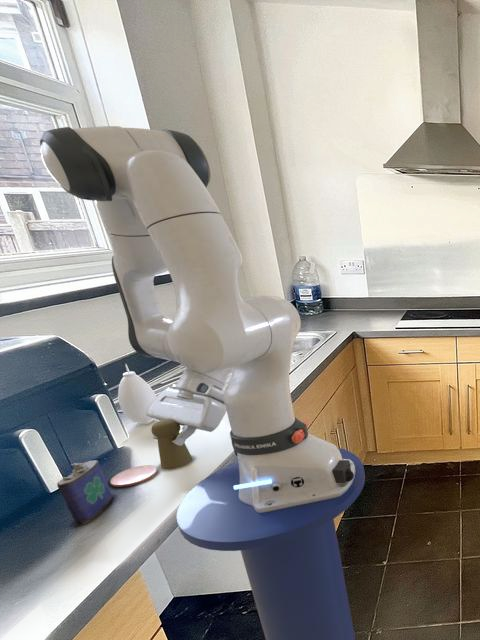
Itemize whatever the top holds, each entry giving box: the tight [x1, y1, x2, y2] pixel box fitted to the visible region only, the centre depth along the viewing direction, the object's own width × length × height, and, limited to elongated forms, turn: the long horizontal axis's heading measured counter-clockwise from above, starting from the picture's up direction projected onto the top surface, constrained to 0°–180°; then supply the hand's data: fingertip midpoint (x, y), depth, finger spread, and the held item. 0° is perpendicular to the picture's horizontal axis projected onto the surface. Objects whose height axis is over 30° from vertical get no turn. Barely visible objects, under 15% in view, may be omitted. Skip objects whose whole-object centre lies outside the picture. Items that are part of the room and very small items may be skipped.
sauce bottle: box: [117, 363, 157, 425], centre depth 116 cm, size 8×8×18 cm
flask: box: [56, 459, 113, 526], centre depth 81 cm, size 9×3×11 cm, turn 15°
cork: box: [150, 419, 193, 471], centre depth 97 cm, size 6×6×11 cm
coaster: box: [109, 464, 159, 488], centre depth 93 cm, size 8×8×1 cm
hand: (167, 442), depth 96 cm, fingers open, 5 cm apart
